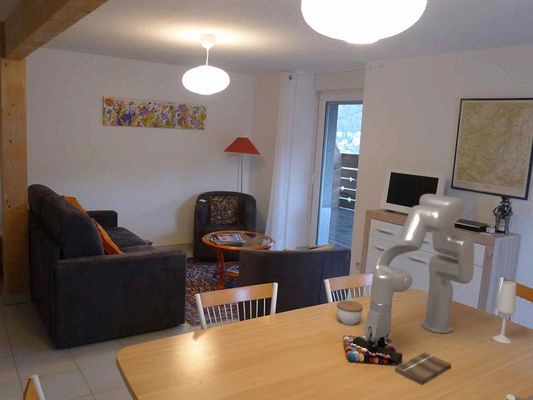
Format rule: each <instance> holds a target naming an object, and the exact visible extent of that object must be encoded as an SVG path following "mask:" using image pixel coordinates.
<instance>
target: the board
mask: <svg viewBox="0 0 533 400" xmlns="http://www.w3.org/2000/svg"><path fill="white" fill-rule="evenodd" d="M451 365H452V364H451V363H450V362H448V361H446V360H444V359H441V358H439V357H436V356H435V355H433V354H429V353H428V352H423V353H421V354H419V355H417V356H415V357H413V358H411V359H409V360H407V361H406V362H404V363H400V364H399V365H397V366H396V367H395V368H394V373H397V374H398V375H401V376H403V377H405V378H407V379H409V380H410V381H413V382H415V383H417V384H420V385H423V384H425V383H427V382H429V381H430V380H432V379H433V378H436V377H437V376H438V375H439V376H440V375H441V374H442V373H444V372H445V371H447V370H449V369H451Z"/></svg>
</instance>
